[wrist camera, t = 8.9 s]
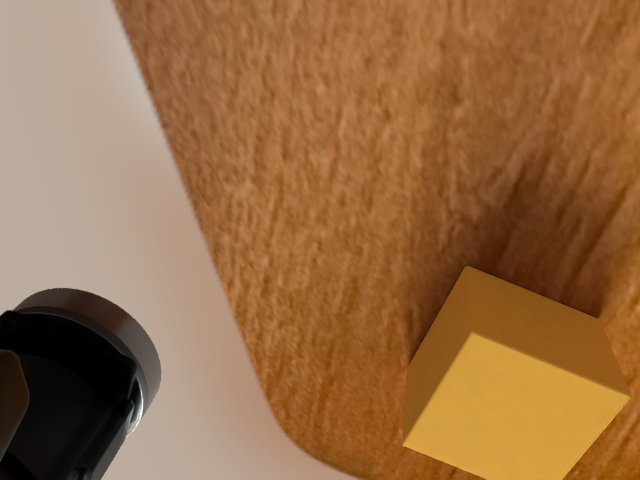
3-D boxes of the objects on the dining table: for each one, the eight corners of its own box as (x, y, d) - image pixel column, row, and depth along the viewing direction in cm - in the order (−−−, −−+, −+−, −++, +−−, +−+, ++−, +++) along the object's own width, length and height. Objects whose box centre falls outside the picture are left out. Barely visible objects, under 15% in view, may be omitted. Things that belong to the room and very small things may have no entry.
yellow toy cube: (406, 368, 23) (401, 446, 20) (465, 263, 21) (472, 331, 17) (527, 416, 23) (543, 503, 20) (600, 318, 21) (633, 397, 17)
